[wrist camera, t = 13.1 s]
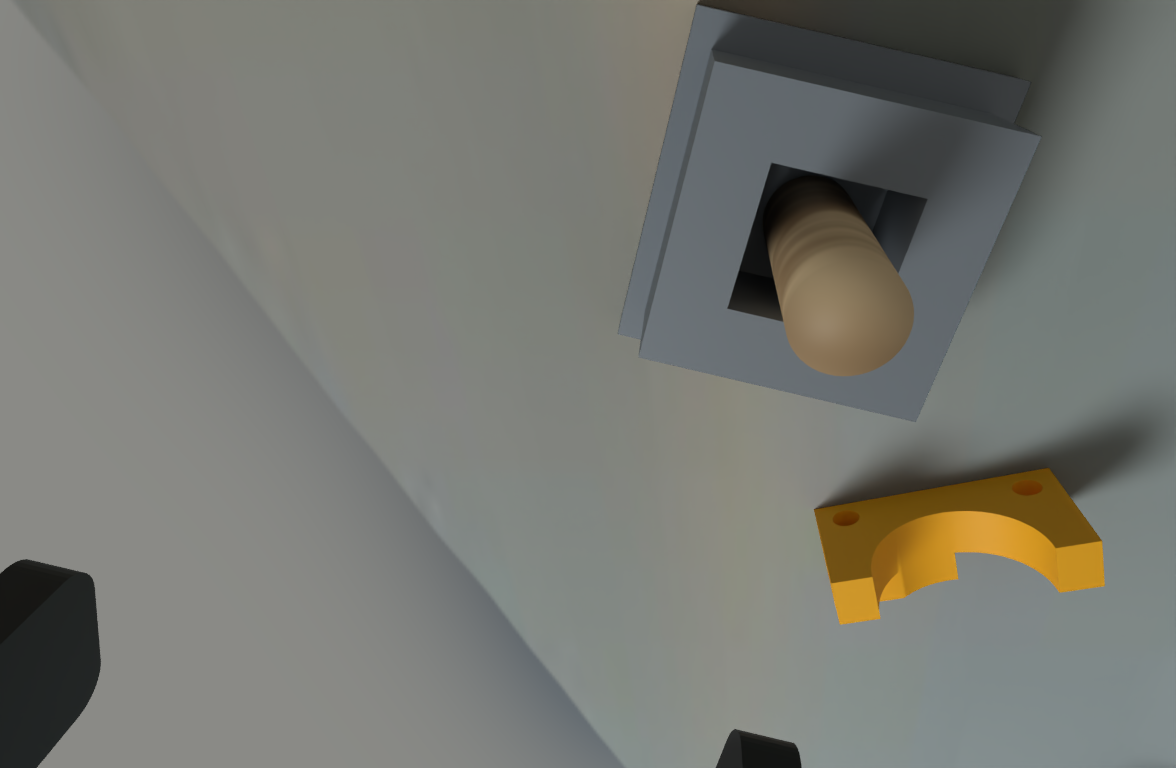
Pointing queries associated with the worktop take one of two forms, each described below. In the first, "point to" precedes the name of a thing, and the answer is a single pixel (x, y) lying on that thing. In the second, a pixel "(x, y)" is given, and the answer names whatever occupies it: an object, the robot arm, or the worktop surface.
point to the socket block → (836, 151)
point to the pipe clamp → (954, 538)
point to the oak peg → (834, 280)
